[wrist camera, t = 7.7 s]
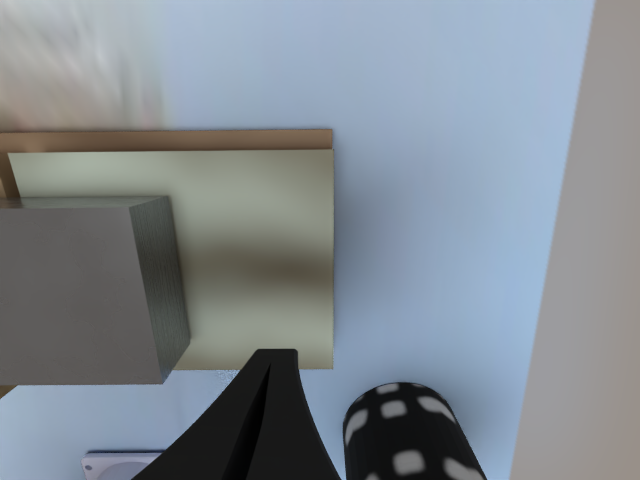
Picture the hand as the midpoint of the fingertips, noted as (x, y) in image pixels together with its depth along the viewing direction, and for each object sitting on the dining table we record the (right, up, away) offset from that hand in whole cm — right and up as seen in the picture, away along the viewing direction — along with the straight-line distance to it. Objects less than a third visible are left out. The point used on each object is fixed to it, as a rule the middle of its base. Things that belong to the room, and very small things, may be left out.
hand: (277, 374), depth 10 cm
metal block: (-12, +3, +5) cm, 13 cm away
